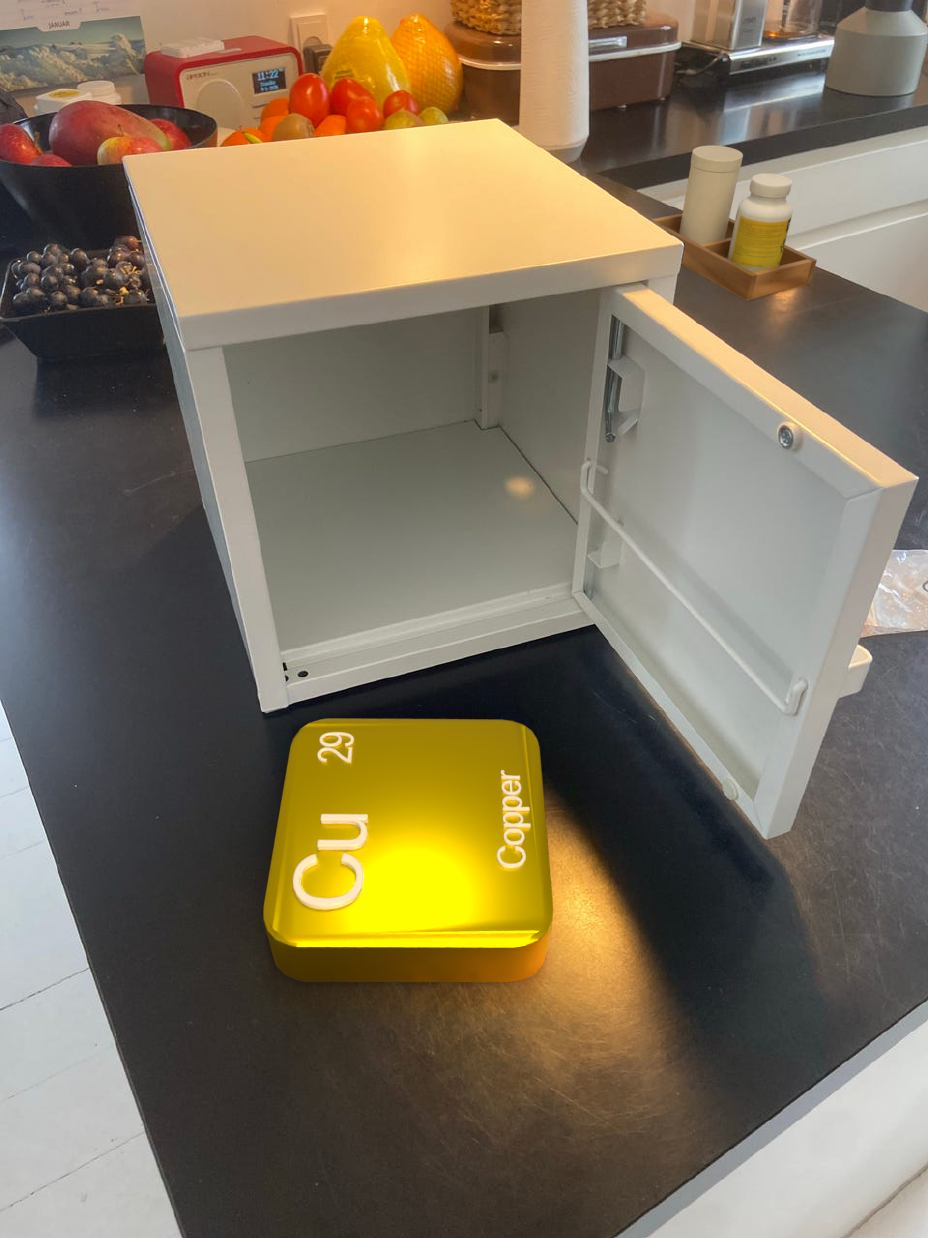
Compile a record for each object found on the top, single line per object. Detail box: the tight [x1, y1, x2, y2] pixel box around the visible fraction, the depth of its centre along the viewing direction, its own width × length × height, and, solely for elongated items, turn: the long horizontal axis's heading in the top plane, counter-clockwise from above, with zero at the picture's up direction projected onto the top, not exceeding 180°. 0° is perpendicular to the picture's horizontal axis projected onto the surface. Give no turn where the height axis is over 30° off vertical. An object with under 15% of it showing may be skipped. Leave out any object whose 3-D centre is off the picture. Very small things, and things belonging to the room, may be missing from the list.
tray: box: [650, 212, 818, 301], centre depth 118 cm, size 11×20×4 cm, turn 29°
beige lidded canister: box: [679, 145, 744, 245], centre depth 118 cm, size 6×6×12 cm
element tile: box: [262, 718, 554, 983], centre depth 52 cm, size 15×15×5 cm
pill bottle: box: [727, 172, 794, 272], centre depth 112 cm, size 6×6×12 cm
